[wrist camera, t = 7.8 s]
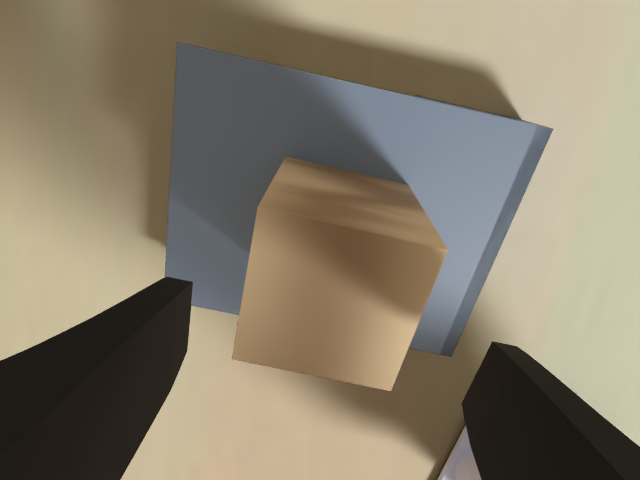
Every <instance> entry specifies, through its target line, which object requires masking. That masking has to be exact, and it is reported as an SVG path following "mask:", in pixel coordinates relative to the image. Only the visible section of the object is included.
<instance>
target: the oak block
mask: <svg viewBox="0 0 640 480" xmlns="http://www.w3.org/2000/svg"><path fill="white" fill-rule="evenodd" d="M447 252H448V249H447V247H446V246H445V244H444V242H443V241H442V239H441V237H440V236H439V234H438V232H437V231H436V229H435V228H434V226H433V224H432V223H431V221H430V219H429V218H428V216H427V214H426V213H425V211H424V209H423V208H422V206H421V205H420V203H419V201H418V200H417V198H416V196H415V195H414V193H413V191H412V190H411V188H410V187H409V185H406V184H402V183H397V182H393V181H389V180H385V179H380V178H376V177H372V176H368V175H364V174H359V173H355V172H351V171H347V170H342V169H338V168H334V167H329V166H325V165H321V164H317V163H312V162H308V161H304V160H300V159H295V158H291V157H287V156H286V157H285V159H284V160H283V162H282V164H281V166H280V168H279V169H278V171H277V173H276V175H275V177H274V178H273V180H272V182H271V184H270V186H269V187H268V189H267V191H266V193H265V195H264V196H263V198H262V200H261V202H260V204H259V205H258V208H257V214H256V220H255V226H254V232H253V237H252V243H251V249H250V255H249V261H248V267H247V273H246V278H245V284H244V290H243V296H242V302H241V308H240V314H239V319H238V325H237V331H236V337H235V343H234V349H233V355H232V359H234V360H239V361H244V362H249V363H254V364H259V365H264V366H269V367H274V368H279V369H283V370H288V371H293V372H298V373H303V374H308V375H313V376H318V377H323V378H328V379H333V380H338V381H343V382H348V383H353V384H357V385H362V386H367V387H372V388H377V389H382V390H387V391H391V390H392V387H393V385H394V382H395V380H396V377H397V375H398V373H399V370H400V368H401V365H402V363H403V360H404V358H405V355H406V353H407V350H408V348H409V345H410V343H411V341H412V338H413V336H414V333H415V331H416V328H417V326H418V323H419V321H420V318H421V316H422V313H423V311H424V308H425V306H426V304H427V301H428V299H429V296H430V294H431V291H432V289H433V286H434V284H435V281H436V279H437V276H438V274H439V271H440V269H441V267H442V264H443V262H444V259H445V257H446V254H447Z"/></svg>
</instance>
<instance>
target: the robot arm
mask: <svg viewBox="0 0 640 480" xmlns="http://www.w3.org/2000/svg"><path fill="white" fill-rule="evenodd" d="M192 289H193V282H192V281H187V280H182V279H176V278H171V277H165V278H163V279H161V280H159V281H157V282H156V283H154V284H152V285H150V286H148V287H147V288H145V289H143V290H141V291H140V292H138V293H136V294H134V295H133V296H131V297H129V298H127V299H125V300H124V301H122V302H120V303H118V304H116V305H115V306H113V307H111V308H109V309H107V310H105V311H103V312H102V313H100V314H98V315H96V316H94V317H92V318H91V319H89V320H87V321H85V322H83V323H81V324H78V325H76V326H74V327H72V328H70V329H68V330H66V331H64V332H62V333H60V334H58V335H56V336H54V337H52V338H50V339H48V340H46V341H44V342H42V343H40V344H38V345H36V346H33V347H31V348H29V349H27V350H24V351H22V352H20V353H18V354H15V355H13V356H11V357H8V358H6V359H4V360H1V361H0V480H120V479H121V477H122V476H123V474H124V472H125V470H126V469H127V467H128V465H129V463H130V462H131V460H132V458H133V456H134V455H135V453H136V451H137V449H138V448H139V446H140V444H141V442H142V440H143V439H144V437H145V435H146V433H147V432H148V430H149V428H150V426H151V425H152V423H153V421H154V419H155V418H156V416H157V414H158V412H159V410H160V409H161V407H162V405H163V403H164V401H165V400H166V398H167V396H168V394H169V392H170V391H171V388H172V386H173V384H174V381H175V379H176V377H177V374H178V372H179V370H180V367H181V365H182V362H183V360H184V357H185V355H186V352H187V346H188V335H189V323H190V312H191V300H192ZM462 407H463V412H464V418H465V423H466V425H465V427H464V429H463V431H462V433H461V435H460V437H459V439H458V441H457V443H456V445H455V447H454V449H453V450H452V452H451V454H450V456H449V458H448V460H447V462H446V464H445V466H444V468H443V470H442V472H441V474H440V476H439V477H438V479H437V480H640V447H639V446H638V445H637V444H636V443H634V442H633V441H632V440H630V439H629V438H628V437H627V436H626V435H624V434H623V433H622V432H621V431H619V430H618V429H617V428H616V427H615V426H613V425H612V424H611V423H610V422H608V421H607V420H606V419H605V418H604V417H602V416H601V415H600V414H599V413H598V412H597V411H595V410H594V409H593V408H592V407H591V406H589V405H588V404H587V403H586V402H585V401H583V400H582V399H581V398H580V397H579V396H578V395H576V394H575V393H574V392H573V391H572V390H570V389H569V388H568V387H567V386H566V385H565V384H563V383H562V382H561V381H560V380H559V379H558V378H556V377H555V376H554V375H553V374H552V373H550V372H549V371H548V370H547V369H546V368H544V367H543V366H542V365H541V364H539V363H538V362H537V361H536V360H534V359H533V358H532V357H531V356H529V355H528V354H527V353H525V352H524V351H523V350H521V349H520V348H518V347H517V346H512V345H507V344H502V343H497V342H492V343H491V345H490V347H489V350H488V352H487V354H486V356H485V358H484V360H483V362H482V364H481V366H480V368H479V370H478V372H477V374H476V376H475V378H474V380H473V382H472V384H471V386H470V388H469V390H468V392H467V394H466V396H465V398H464V400H463V402H462Z"/></svg>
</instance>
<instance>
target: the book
mask: <svg viewBox="0 0 640 480" xmlns="http://www.w3.org/2000/svg"><path fill="white" fill-rule="evenodd" d="M552 131H553V129H552V128H548V127H545V126H541V125H538V124H535V123H531V122H528V121H524V120H521V119H516V118H512V117H508V116H503V115H499V114H495V113H490V112H486V111H482V110H477V109H473V108H469V107H464V106H460V105H456V104H451V103H447V102H443V101H438V100H434V99H430V98H425V97H421V96H417V95H416V96H409V95H405V94H401V93H396V92H392V91H388V90H383V89H379V88H375V87H370V86H366V85H362V84H357V83H353V82H349V81H344V80H340V79H336V78H331V77H327V76H323V75H318V74H314V73H310V72H305V71H301V70H297V69H292V68H288V67H284V66H279V65H275V64H271V63H266V62H262V61H258V60H253V59H249V58H245V57H240V56H236V55H232V54H227V53H223V52H219V51H214V50H210V49H206V48H201V47H197V46H193V45H188V44H184V43H179V42H177V55H176V74H175V93H174V112H173V131H172V150H171V169H170V188H169V207H168V226H167V244H166V263H165V277H171V278H176V279H182V280H187V281H192V282H193V289H192V300H191V306H196V307H201V308H206V309H211V310H217V311H222V312H227V313H232V314H237V315H239V314H240V308H241V302H242V296H243V290H244V284H245V278H246V273H247V267H248V261H249V255H250V249H251V243H252V237H253V232H254V226H255V220H256V214H257V208H258V205H259V204H260V202H261V200H262V198H263V196H264V195H265V193H266V191H267V189H268V187H269V186H270V184H271V182H272V180H273V178H274V177H275V175H276V173H277V171H278V169H279V168H280V166H281V164H282V162H283V160H284V159H285V157H286V156H287V157H291V158H295V159H300V160H304V161H308V162H312V163H317V164H321V165H325V166H329V167H334V168H338V169H342V170H347V171H351V172H355V173H359V174H364V175H368V176H372V177H376V178H380V179H385V180H389V181H393V182H397V183H402V184H406V185H409V187H410V188H411V190H412V191H413V193H414V195H415V196H416V198H417V200H418V201H419V203H420V205H421V206H422V208H423V209H424V211H425V213H426V214H427V216H428V218H429V219H430V221H431V223H432V224H433V226H434V228H435V229H436V231H437V232H438V234H439V236H440V237H441V239H442V241H443V242H444V244H445V246H446V247H447V249H448V252H447V254H446V257H445V259H444V262H443V264H442V267H441V269H440V271H439V274H438V276H437V279H436V281H435V284H434V286H433V289H432V291H431V294H430V296H429V299H428V301H427V304H426V306H425V308H424V311H423V313H422V316H421V318H420V321H419V323H418V326H417V328H416V331H415V333H414V336H413V338H412V341H411V343H410V345H409V349H414V350H419V351H424V352H429V353H434V354H439V355H444V356H449V357H451V356H452V354H453V352H454V350H455V347H456V345H457V343H458V341H459V338H460V336H461V334H462V332H463V329H464V327H465V325H466V323H467V321H468V318H469V316H470V314H471V312H472V309H473V307H474V305H475V303H476V300H477V298H478V296H479V294H480V291H481V289H482V287H483V285H484V283H485V280H486V278H487V276H488V274H489V271H490V269H491V267H492V265H493V262H494V260H495V258H496V256H497V253H498V251H499V249H500V247H501V245H502V242H503V240H504V238H505V236H506V233H507V231H508V229H509V227H510V224H511V222H512V220H513V218H514V215H515V213H516V211H517V209H518V207H519V204H520V202H521V200H522V198H523V195H524V193H525V191H526V189H527V186H528V184H529V182H530V180H531V177H532V175H533V173H534V171H535V169H536V166H537V164H538V162H539V160H540V157H541V155H542V153H543V151H544V148H545V146H546V144H547V142H548V139H549V137H550V135H551V133H552Z"/></svg>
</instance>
